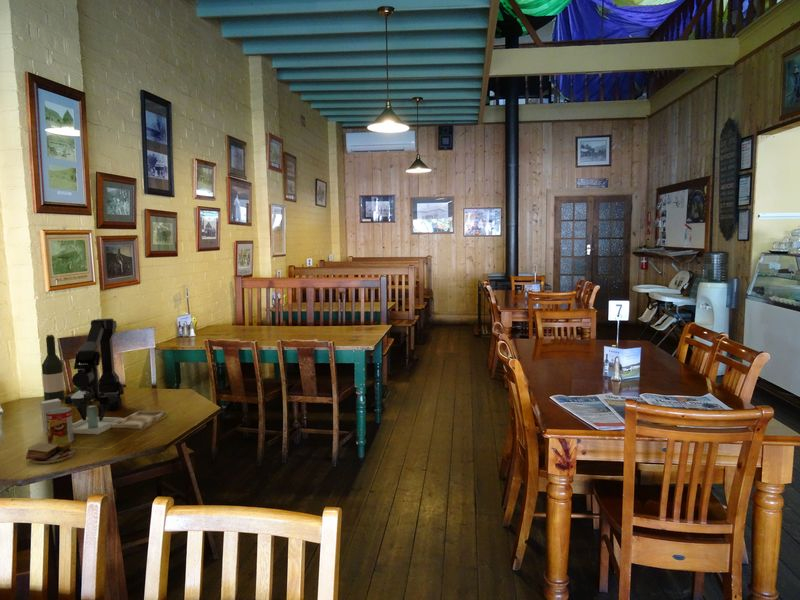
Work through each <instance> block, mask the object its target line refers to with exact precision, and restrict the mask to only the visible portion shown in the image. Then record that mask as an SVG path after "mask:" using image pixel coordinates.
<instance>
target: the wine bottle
mask: <svg viewBox="0 0 800 600" xmlns="http://www.w3.org/2000/svg"><path fill="white" fill-rule="evenodd" d="M55 340H56V339H55V336H54V334H47V335H46V337H45V342H46V343H45V344H46V356H45V359H44V360H43V362H42V364H41V370H42V383H43V384H42V385H43V397H44V401H48V400H53V399H59V400H61V401H62V400H64V399H65V397H66V392H65V379H64V365H63V361H62V360H61V359H60V357H59V356H58V355H57V353H56V352H57V350H56V341H55Z"/></svg>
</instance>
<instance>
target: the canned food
mask: <svg viewBox="0 0 800 600" xmlns="http://www.w3.org/2000/svg"><path fill="white" fill-rule="evenodd" d="M72 410H73V409H72V408H71V406H70V407H69V406H63V407H62V406H61V407H60V408H54V409H50V410H48V411H46V420H47V433H46V434H47V444H49V443H52V444H56V445H66V444H69V443H71V442H74V433H73V411H72Z"/></svg>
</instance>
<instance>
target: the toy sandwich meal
mask: <svg viewBox="0 0 800 600" xmlns="http://www.w3.org/2000/svg"><path fill="white" fill-rule="evenodd" d="M72 442H73V441H71V442H69V443H66V444H62V445H56V444H52V443H49V444H48V443H45V442H38V443H35V444H32V445H31V446H30V447H28V449H27V451H26V455H25V460H30V461H31V462H32V463H34V464H36V463H37V465H50V464H49V463H52V464H56V463H55V462H57V463H60V462H59V461H61V462H63V460H64V461H66V460H68V459H70V458H71V457H72V456H73V455H74V454H75V450H74V449H72V448H71V447H72V445H73V443H72ZM69 457H70V458H69ZM67 458H68V459H67ZM65 459H66V460H65Z"/></svg>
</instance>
